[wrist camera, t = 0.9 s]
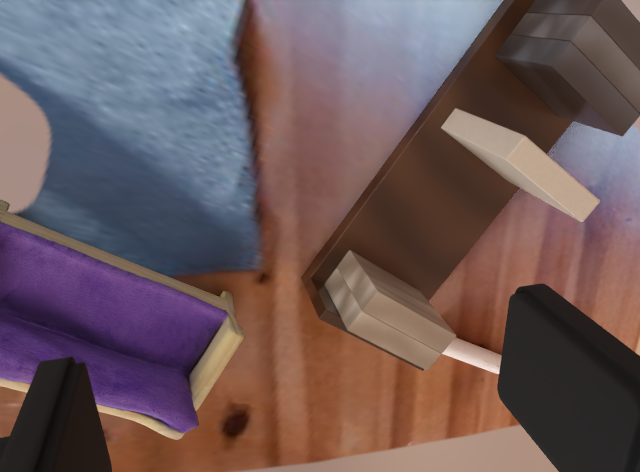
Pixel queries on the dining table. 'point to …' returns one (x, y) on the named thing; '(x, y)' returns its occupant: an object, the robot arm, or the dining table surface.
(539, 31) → the book rack
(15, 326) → the toy sofa
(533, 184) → the beige book
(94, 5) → the dining table surface
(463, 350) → the beige rod
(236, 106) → the dining table surface
